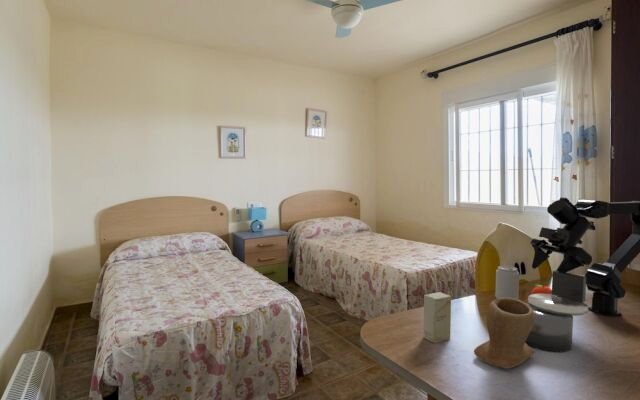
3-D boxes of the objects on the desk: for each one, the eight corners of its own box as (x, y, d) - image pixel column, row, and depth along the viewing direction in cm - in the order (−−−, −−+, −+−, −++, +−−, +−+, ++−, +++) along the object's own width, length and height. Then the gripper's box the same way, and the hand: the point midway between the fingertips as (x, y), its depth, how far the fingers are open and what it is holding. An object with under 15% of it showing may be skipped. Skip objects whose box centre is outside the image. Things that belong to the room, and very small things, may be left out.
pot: (508, 318, 111) (508, 294, 110) (581, 344, 93) (582, 314, 93) (482, 328, 104) (483, 301, 103) (556, 357, 87) (557, 325, 86)
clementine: (523, 303, 124) (524, 283, 124) (534, 299, 128) (535, 280, 127) (547, 310, 117) (548, 289, 117) (558, 306, 121) (559, 286, 121)
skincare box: (434, 343, 94) (435, 299, 93) (422, 337, 98) (423, 294, 97) (451, 338, 97) (452, 295, 96) (438, 332, 101) (439, 291, 100)
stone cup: (515, 380, 77) (517, 313, 76) (466, 357, 87) (468, 298, 86) (549, 361, 85) (551, 300, 84) (501, 342, 95) (503, 287, 94)
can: (522, 303, 124) (523, 270, 123) (501, 303, 124) (502, 270, 124) (511, 296, 132) (512, 264, 131) (491, 296, 132) (492, 264, 131)
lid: (543, 294, 109) (544, 268, 108) (597, 308, 97) (599, 279, 96) (517, 303, 101) (518, 275, 101) (572, 319, 89) (574, 288, 89)
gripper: (533, 214, 120) (506, 251, 119) (581, 221, 102) (550, 264, 101) (554, 234, 122) (528, 269, 121) (606, 243, 103) (575, 286, 103)
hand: (543, 271), depth 111 cm, fingers open, 9 cm apart
